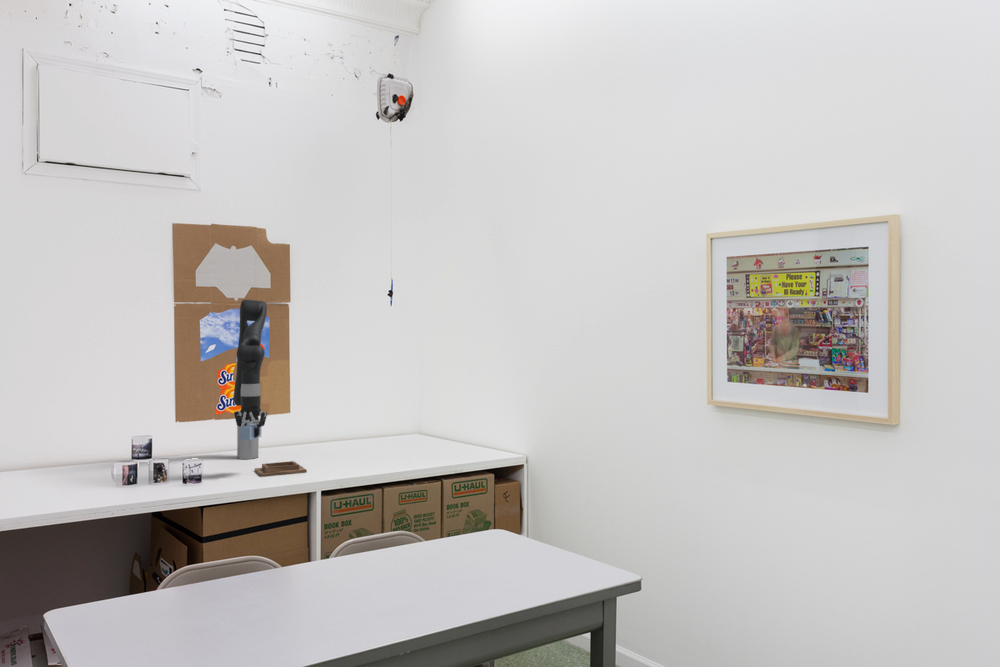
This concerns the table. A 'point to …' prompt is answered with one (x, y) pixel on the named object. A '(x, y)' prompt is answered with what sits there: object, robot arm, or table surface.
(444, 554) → the table surface
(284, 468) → the tray
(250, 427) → the bar
